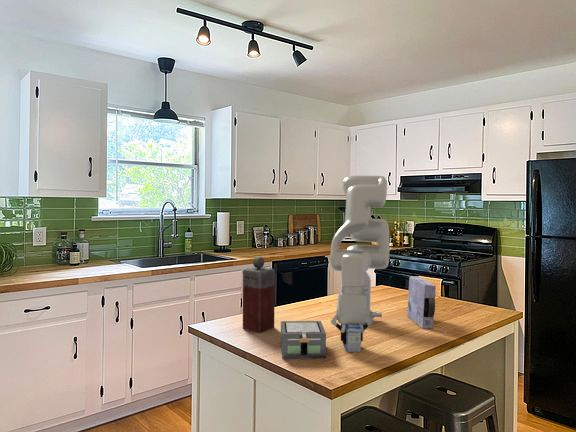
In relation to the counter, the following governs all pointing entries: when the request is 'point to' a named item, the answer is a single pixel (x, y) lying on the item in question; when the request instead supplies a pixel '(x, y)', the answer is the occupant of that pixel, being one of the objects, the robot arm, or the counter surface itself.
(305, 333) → the light grey flat panel
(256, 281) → the red square decanter
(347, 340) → the medicine box
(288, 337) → the grey hollow square box
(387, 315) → the counter surface
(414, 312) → the cake pan box
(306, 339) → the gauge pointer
